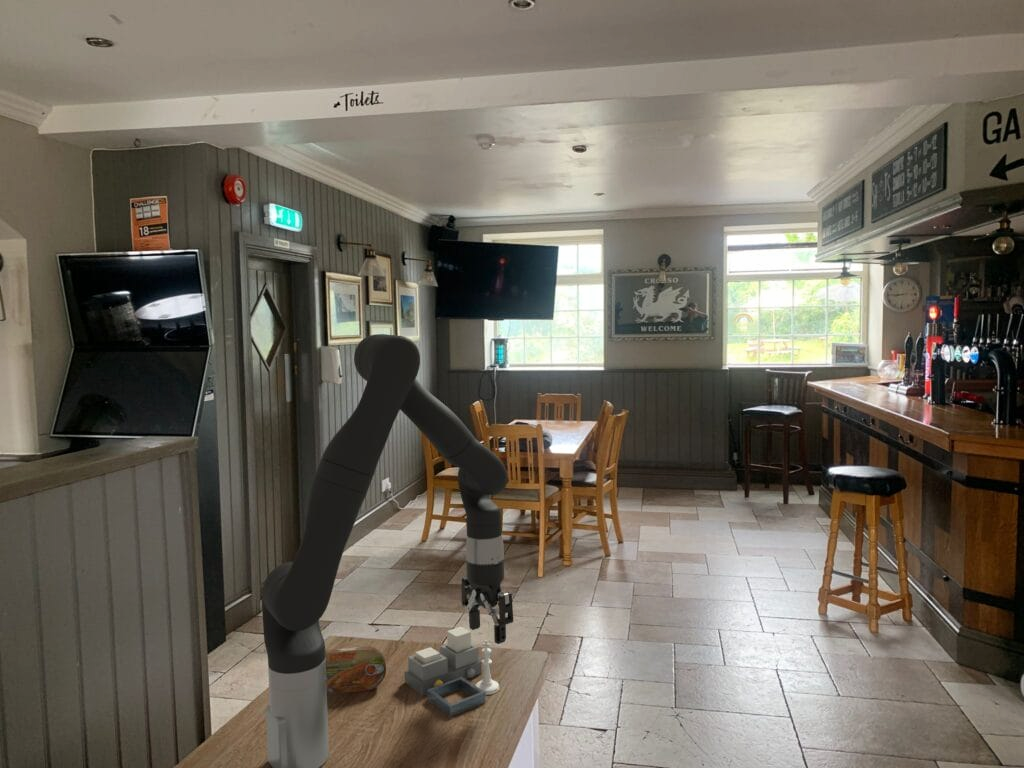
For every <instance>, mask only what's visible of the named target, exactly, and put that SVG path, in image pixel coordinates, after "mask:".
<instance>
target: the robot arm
mask: <svg viewBox="0 0 1024 768" xmlns="http://www.w3.org/2000/svg"><path fill="white" fill-rule="evenodd" d="M353 354H354V355H353V362H354V367H355V369H356V371H357V373H358V374H359V376H360V377H361V378H362V379H363V380H365V382H366V383H365V388H364V389H363V392H362V395H361V398H360V400H359V402H358V404H357V406H356V407H355V409H354V411H353V412H352V414H351V415H350V416H349V418H348V419H347V420H346V421H345V423H344V424H343V425H342V426H341V428H340V429H338V431H337V432H336V434H335V435H334V436H333V437H332V439H331V440H330V441H329V443H328V444H327V446H326V447H325V450H324V451H323V453H322V456H321V458H320V461H319V463H318V466H317V469H316V471H315V474H314V476H313V479H312V481H311V485H310V489H309V493H308V498H307V499H308V501H307V506H306V507H307V508H306V516H305V525H304V530H303V535H302V540H301V542H300V545H299V547H298V550H297V552H296V555H295V556H294V560H293V561H289V562H284V563H280V564H278V566H276V567H275V568H274V569H272V570H271V571H270V572H269V574H268V575H267V576H266V578H265V581H264V583H263V585H262V588H261V611H262V612H261V613H262V627H263V630H262V631H263V640H264V646H265V650H266V651H265V652H266V655H267V664H268V665H267V666H268V669H267V671H268V695H269V705H268V706H266V707H265V720H266V721H265V725H266V746H267V747H266V749H267V750H266V751H267V762H268V763H269V765H270V766H271V767H272V768H320V767H322V766H323V765H324V764H325V763H326V762H327V760H328V758H329V755H330V753H329V752H330V751H329V750H330V749H329V748H330V747H329V745H330V741H329V723H328V718H329V717H328V697H327V695H328V694H327V688H326V658H325V651H326V644H325V642H326V641H325V639H324V635H323V634H322V629H321V627H320V622H319V620H320V619H321V618H322V616H323V615H324V613H325V612H326V610H327V608H328V605H329V603H330V599H331V596H332V593H333V590H334V585H335V581H336V577H337V574H338V570H339V567H340V564H341V560H342V557H343V554H344V550H345V548H346V545H347V544H348V540H349V538H350V535H351V533H352V530H353V528H354V525H355V523H356V521H357V518H358V515H359V514H360V513H359V512H360V510H361V507H362V505H363V503H364V501H365V499H366V496H367V493H368V491H369V488H370V486H371V483H372V480H373V478H374V476H375V472H376V470H377V466H378V464H379V460H380V458H381V455H382V454H383V451H384V449H385V446H386V444H387V441H388V439H389V436H390V434H391V430H392V428H393V425H394V423H395V420H396V419H397V417H398V415H399V412H400V411H401V412H402V413H403V414H404V415H405V416H406V417H407V418H408V419H409V420H410V421H411V423H413V425H415V427H416V428H417V429H419V431H420V432H421V433H422V434H423V435H424V437H425V438H426V439H427V440H428V441H429V442H430V444H431V445H432V446H433V447H434V448H435V450H436V451H437V452H438V453H439V454H440V455H441V457H443V458H444V460H445V461H447V462H448V463H449V464H450V465H452V466H454V467H457V468H458V470H457V471H458V472H457V483H458V484H457V485H458V490H459V494H460V498H461V501H462V505H463V509H464V511H465V515H466V516H465V517H466V518H465V519H466V521H465V523H466V524H465V525H466V541H465V558H466V559H465V560H466V562H465V563H466V565H465V566H466V568H465V569H466V576H464V577H462V578H461V605H462V607H466V611H467V612H468V623H469V629H470V630H471V631H474V630H478V629H479V628H480V627H481V611H480V607H483V608H484V609H485V610H486V611H487V614H488V616H490V617H491V618H492V621H493V623H494V625H493V630H494V631H493V632H494V633H493V635H494V639H493V640H494V643H495V644H498V645H499V644H503V643H505V642H506V639H507V625H509V624H512V623H514V609H513V607H514V606H513V595H512V592H511V591H508V592H504V591H502V588H501V584H502V582H503V581H504V579H505V554H504V551H505V549H504V539H503V524H502V523H503V522H502V511H501V510H502V509H501V507H500V506H498V505H497V504H496V503H494V502H493V500H492V499H491V496H495V495H499V494H500V493H502V492H503V491H504V490H505V489H506V486H507V485H508V481H509V475H508V470H507V468H506V466H505V463H504V462H503V461H502V460H501V459H500V458H499V457H498V456H497V455H496V454H495V453H494V452H493V451H492V450H490V449H489V448H488V447H486V445H484V444H483V443H482V442H480V441H479V440H477V438H476V437H475V436H474V435H473V434H472V432H471V431H470V430H469V428H468V427H467V426H466V425H465V423H464V422H463V421H462V420H461V419H460V418H459V417H458V416H457V414H455V413H454V412H453V410H452V409H450V408H449V407H448V406H447V405H445V404H444V403H443V402H441V400H439V398H437V397H436V396H434V395H433V394H432V393H430V391H429V390H427V389H426V388H425V387H424V386H423V385H422V383H420V381H418V380H417V376H418V374H419V371H420V366H421V355H420V354H421V353H420V351H419V348H418V346H417V344H416V343H415V342H414V341H413V340H412V339H410V338H409V337H406V336H403V335H396V334H384V333H380V334H378V333H377V334H372V335H368V336H366V337H363V339H362V340H360V341H359V343H358V344H357V346H356V348H355V351H354V353H353ZM467 596H469V597H467ZM497 606H498V607H497ZM495 607H496V608H495ZM498 615H499V617H498Z"/></svg>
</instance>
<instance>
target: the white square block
mask: <svg viewBox="0 0 1024 768" xmlns="http://www.w3.org/2000/svg"><path fill="white" fill-rule="evenodd" d="M414 655H416V659H417V660H418V661H420V662H421V663H423V664H427V663H430V662H433V661H436V660H439V659H440V652H439V651H438V650H436V649H434V648H432V647H431V646H430V647H427V648H424V649H421V650H417V651H415V652H414Z"/></svg>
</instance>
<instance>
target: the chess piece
mask: <svg viewBox="0 0 1024 768" xmlns="http://www.w3.org/2000/svg"><path fill="white" fill-rule="evenodd" d="M481 646H482V647H484V648H482V649H481V653H482V657H483V659H482V660H481V663H482V665H484V666H483V675H482V679H481V680H479V681H477V683H476V684H474V685H475V686H476V687H478V688H479V689H481V690H482V691H484V692H485V695H486V696H490V695H494V694H496V693H498V692H499V691H498V690H500V684H499V683H498V681H496V680H494V679H492V676H491V671H490V665H491V664H492V663H493V661H492V659H490V657H491V653H492V649H491V648H490V647H491V646H492V644H491V643H489V641H488V639H485V641H484V642H482V643H481Z"/></svg>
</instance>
